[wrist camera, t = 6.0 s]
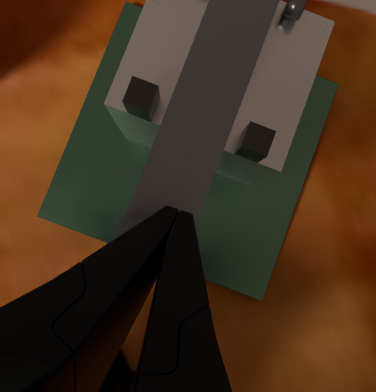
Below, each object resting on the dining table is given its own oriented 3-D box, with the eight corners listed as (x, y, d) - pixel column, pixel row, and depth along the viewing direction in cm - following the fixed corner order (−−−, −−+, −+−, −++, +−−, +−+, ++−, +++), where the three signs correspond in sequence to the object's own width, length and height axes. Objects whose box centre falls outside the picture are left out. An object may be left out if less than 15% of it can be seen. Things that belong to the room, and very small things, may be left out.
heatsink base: (259, 298, 23) (315, 353, 14) (40, 216, 22) (-50, 216, 13) (334, 87, 24) (432, 8, 15) (127, 6, 23) (97, -124, 14)
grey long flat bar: (181, 258, 15) (181, 263, 14) (120, 235, 15) (114, 238, 14) (279, -3, 16) (289, -25, 14) (222, -25, 16) (226, -50, 14)
